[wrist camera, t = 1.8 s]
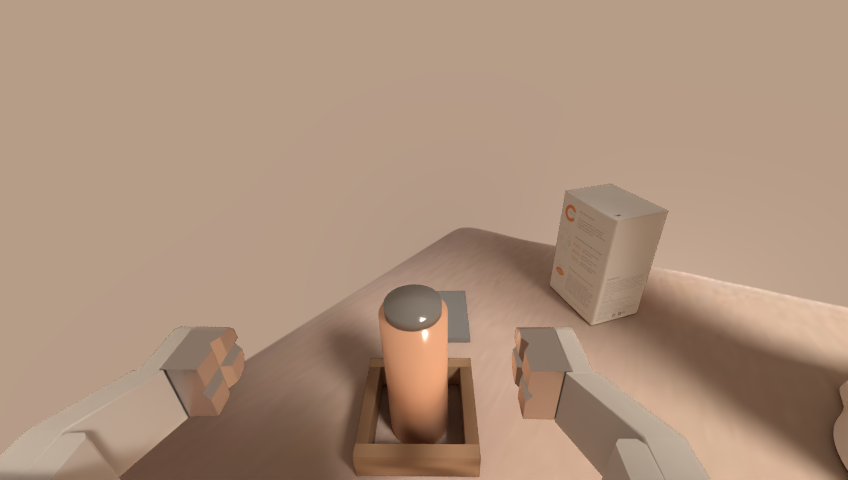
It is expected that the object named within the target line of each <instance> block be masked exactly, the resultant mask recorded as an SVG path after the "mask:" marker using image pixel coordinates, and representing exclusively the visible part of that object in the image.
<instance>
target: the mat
mask: <svg viewBox="0 0 848 480" xmlns="http://www.w3.org/2000/svg"><path fill="white" fill-rule="evenodd" d="M436 292H437V293H438V294H439V295H440V297H441V299H442V300H443V301H444V302H445V304H446V306H447V309H448V342H470V332H469V323H468V314H467V305H466V296H465V291H436Z"/></svg>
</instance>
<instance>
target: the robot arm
mask: <svg viewBox="0 0 848 480" xmlns="http://www.w3.org/2000/svg"><path fill="white" fill-rule="evenodd" d="M237 338H238V337H237V335H236V332H235V330H234V329H233V328H230V327H178V328H176V329H174V330H173V331H172V333H171V334H170V335H169V336H168V337H167V338H166V339H165V341H164V342H163V343H162V344H161V345H160V347H158V349H157V350H156V351H155V352H154V353H153V354H152V356H151V357H150V358H149V359H148V360H147V361H146V362H145V363H144V365H143V366H142V367H141V368H140V369H139V370H133V371H131V372H129V373H127V374H126V375H124V376H122V377H120V378H119V379H117V380H115V381H113V382H111V383H110V384H108V385H106V386H104V387H103V388H101V389H99V390H97V391H96V392H94V393H92V394H90V395H88V396H87V397H85V398H83V399H81V400H80V401H78V402H76V403H74V404H73V405H71V406H69V407H67V408H65V409H64V410H62V411H60V412H58V413H56V414H55V415H53V416H51V417H50V418H48V419H46V420H44V421H42V422H40V423H39V424H37V425H35V426H33V427H32V428H30V429H28V430H26V431H25V432H24V433H23V434H22V435H21V436H20V437H19V438H18V439H17V440H16V442H14V443H13V444H12V445H11V446H10V447H9V448H8V449H7V450H6V451H5V452H4V453H3V454H2V455H1V456H0V480H121V479H120V478H119V477H120V476H121V475H122V474H123V473H124V472H126V471H127V470H128V469H129V468H130V467H131V466H133V465H134V464H135V463H136V462H137V461H138V460H140V459H141V458H142V457H143V456H144V455H145V454H147V453H148V452H149V451H150V450H151V449H152V448H154V447H155V446H156V445H157V444H158V443H160V442H161V441H162V440H163V439H164V438H165V437H167V436H168V435H169V434H170V433H171V432H172V431H174V430H175V429H176V428H177V427H178V426H179V425H181V424H182V423H183V422H184V421H185V420H186V419H188V416H219V414H220V412H221V411H222V409H223V407H224V405H225V403H226V402H227V400H228V398H229V396H230V392H229V388H230V387H231V386H232V385H234V384H235V383H236V382H238V380H239V378H240V376H241V374H242V372H243V368H244V363H245V361H244V353H243V351H242V349H241V348H240V347H239V346H238V345H237V344H235V341H236V340H237ZM514 339H515V343H516V347H515V348H514V349H513V353H512V370H513V377H514V381H515V384H516V385H517V386H518V387H519V393H518V400H519V404H520V408H521V413H522V417H523V419H548V420H555V422H556V423H557V424H558V426H559V427H560V428H561V429H562V430H563V431H564V432H565V434H566V435H567V436H568V437H569V438H570V439H571V441H572V442H573V443H574V444H575V445H576V446H577V447H578V449H579V450H580V451H581V452H582V453H583V454H584V455H585V457H586V458H587V459H588V460H589V461H590V462H591V464H592V465H593V466H594V467H595V468H596V469H597V470H598V472H599V473H600V474H601V475H602V476H603V478H602V480H711V479H710V477H709V476H708V474H707V472H706V471H705V469H704V467H703V466H702V464H701V462H700V461H699V459H698V457H697V456H696V454H695V452H694V451H693V449H692V448H691V446H690V444H689V443H688V441H687V439H686V438H685V437H684V436H682V435H681V434H680V433H678V432H677V431H676V430H674V429H673V428H672V427H670V426H669V425H668V424H666V423H665V422H664V421H662V420H661V419H660V418H658V417H657V416H656V415H654V414H653V413H652V412H651V411H649V410H648V409H647V408H645V407H644V406H643V405H641V404H640V403H639V402H637V401H636V400H635V399H633V398H632V397H631V396H629V395H628V394H627V393H625V392H624V391H623V390H621V389H620V388H619V387H618V386H616V385H615V384H614V383H612V382H611V381H610V380H608V379H607V378H606V377H604V376H603V375H602V374H600V373H596V372H593V370H592V368H591V366H590V364H589V362H588V360H587V357H586V355H585V353H584V351H583V349H582V347H581V344H580V342H579V340H578V338H577V336H576V334H575V332H574V329H573V328H571V327H552V328H551V327H520V328H516V331H515V337H514ZM840 396H841V399H842V402H843V405H844V409H843V411H842V413H841V415H840V416H839V417H838V419H837V420H836V422H835V425H834V430H833V437H834V442H835V446H836V449H837V451H838V454H839V456H840V458H841V460H842V462H843V463H844V465H845V467H846V468H847V470H848V380H847V381H846V382H845V383H844V384H843V385H841V387H840Z"/></svg>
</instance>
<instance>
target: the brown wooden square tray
mask: <svg viewBox="0 0 848 480" xmlns="http://www.w3.org/2000/svg"><path fill="white" fill-rule="evenodd" d="M383 385H387V382H386V374H385V365H384V358H371V362H370V367H369V372H368V378H367V383H366V388H365V393H364V398H363V404H362V409H361V414H360V419H359V424H358V430H357V435H356V440H355V445H354V450H353V456H352V458H353V463H354V467H355V472H356V476H457V477H479V475H480V462H481V455H480V446H479V436H478V427H477V417H476V408H475V398H474V389H473V379H472V370H471V360H470V358H448V385H460V398H461V412H462V427H463V442H464V444H374V442H375V435H376V428H377V421H378V414H379V407H380V400H381V393H382V387H383Z"/></svg>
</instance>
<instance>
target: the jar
mask: <svg viewBox="0 0 848 480" xmlns="http://www.w3.org/2000/svg"><path fill="white" fill-rule="evenodd" d="M378 315H379V324H380V332H381V340H382V349H383V357H384V365H385V374H386V382H387V390H388V399H389V407H390V415H391V423H392V429H393V432H394V434H395V436H396V437H397V438H398V439H399V440H400V441H401V442H402V443H404V444H434V443H435V442H437V441H438V440H439V439H440V438H441V437H442V436H443V435H444V433H445V431H446V429H447V425H448V309H447V306H446V304H445V302H444V301H443V300H442V299H441V297H440V295H439V294H438V293H437V292H436V291H435V290H434V289H432V288H430V287H427V286H423V285H406V286H402V287H399V288H396V289H394V290H393V291H391V292H390V293H389V294H388V295H387V296H386V297H385V299H384V302H383V304H382V305H381V307H380V309H379V314H378Z"/></svg>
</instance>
